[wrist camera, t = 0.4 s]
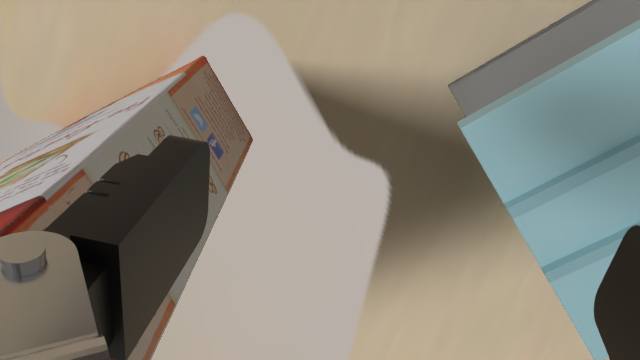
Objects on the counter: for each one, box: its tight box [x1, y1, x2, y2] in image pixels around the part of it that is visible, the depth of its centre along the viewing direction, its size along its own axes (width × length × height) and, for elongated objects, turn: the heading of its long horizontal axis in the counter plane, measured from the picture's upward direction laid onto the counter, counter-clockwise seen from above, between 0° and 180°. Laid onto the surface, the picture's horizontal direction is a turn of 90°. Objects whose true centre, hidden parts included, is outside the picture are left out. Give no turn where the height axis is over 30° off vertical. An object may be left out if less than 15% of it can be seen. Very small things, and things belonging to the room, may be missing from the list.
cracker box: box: [0, 56, 253, 360], centre depth 23 cm, size 14×6×21 cm, turn 117°
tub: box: [448, 0, 640, 117], centre depth 28 cm, size 14×10×6 cm
